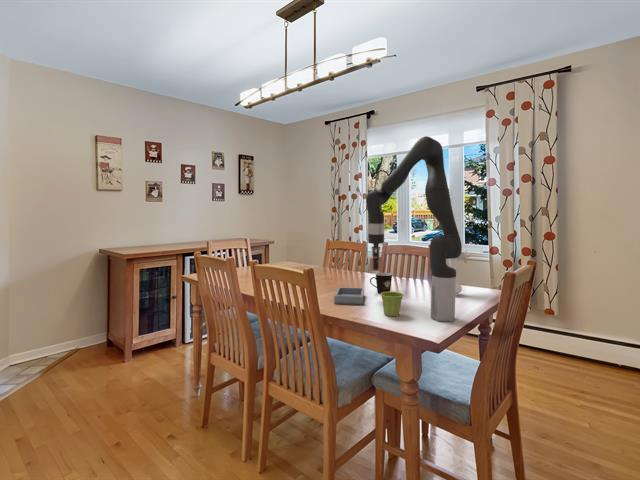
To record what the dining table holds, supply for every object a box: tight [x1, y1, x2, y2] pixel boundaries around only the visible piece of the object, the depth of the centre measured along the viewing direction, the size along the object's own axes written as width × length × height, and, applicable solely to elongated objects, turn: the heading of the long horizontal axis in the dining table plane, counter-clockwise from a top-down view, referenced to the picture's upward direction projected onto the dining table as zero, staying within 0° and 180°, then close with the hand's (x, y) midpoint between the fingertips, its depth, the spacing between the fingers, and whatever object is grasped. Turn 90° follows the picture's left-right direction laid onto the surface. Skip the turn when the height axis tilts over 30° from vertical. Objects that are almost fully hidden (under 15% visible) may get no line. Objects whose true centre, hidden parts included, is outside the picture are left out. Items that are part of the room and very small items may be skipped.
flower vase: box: [448, 248, 472, 297], centre depth 181 cm, size 13×18×25 cm
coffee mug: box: [369, 272, 393, 295], centre depth 185 cm, size 12×9×10 cm
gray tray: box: [333, 286, 365, 306], centre depth 172 cm, size 18×13×4 cm
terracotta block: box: [369, 256, 383, 272], centre depth 169 cm, size 6×6×6 cm
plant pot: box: [379, 291, 404, 317], centre depth 147 cm, size 9×9×9 cm
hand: (375, 268), depth 169 cm, fingers closed on terracotta block, 5 cm apart
